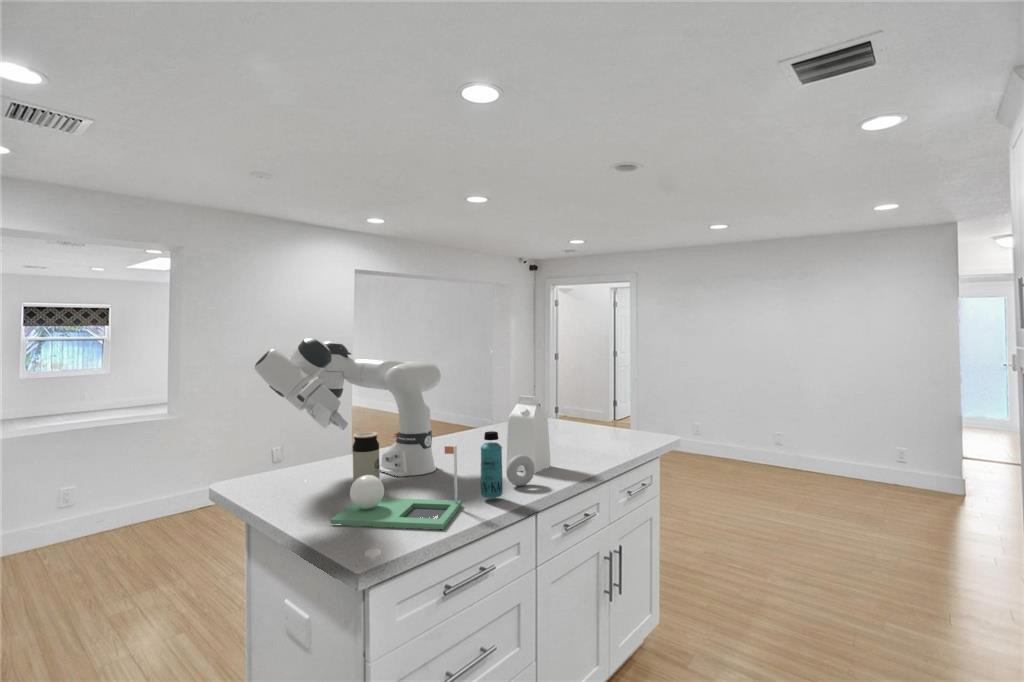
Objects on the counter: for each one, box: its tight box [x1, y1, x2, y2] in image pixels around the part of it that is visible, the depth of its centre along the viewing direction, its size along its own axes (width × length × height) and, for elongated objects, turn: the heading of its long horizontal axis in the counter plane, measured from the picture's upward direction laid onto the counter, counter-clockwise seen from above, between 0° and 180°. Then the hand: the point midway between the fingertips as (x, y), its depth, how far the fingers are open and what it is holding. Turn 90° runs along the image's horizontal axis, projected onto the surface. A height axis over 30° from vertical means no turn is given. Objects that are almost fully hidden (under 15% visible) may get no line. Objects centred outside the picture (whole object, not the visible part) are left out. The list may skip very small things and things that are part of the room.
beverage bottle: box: [479, 430, 504, 499], centre depth 148 cm, size 6×7×20 cm
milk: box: [506, 395, 552, 474], centre depth 184 cm, size 12×12×26 cm
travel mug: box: [352, 431, 381, 484], centre depth 159 cm, size 8×8×18 cm
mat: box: [330, 445, 463, 531], centre depth 137 cm, size 30×18×18 cm, turn 81°
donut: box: [505, 455, 535, 487], centre depth 162 cm, size 10×4×10 cm, turn 119°
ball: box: [349, 475, 385, 509], centre depth 138 cm, size 9×9×9 cm
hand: (345, 427), depth 141 cm, fingers closed
